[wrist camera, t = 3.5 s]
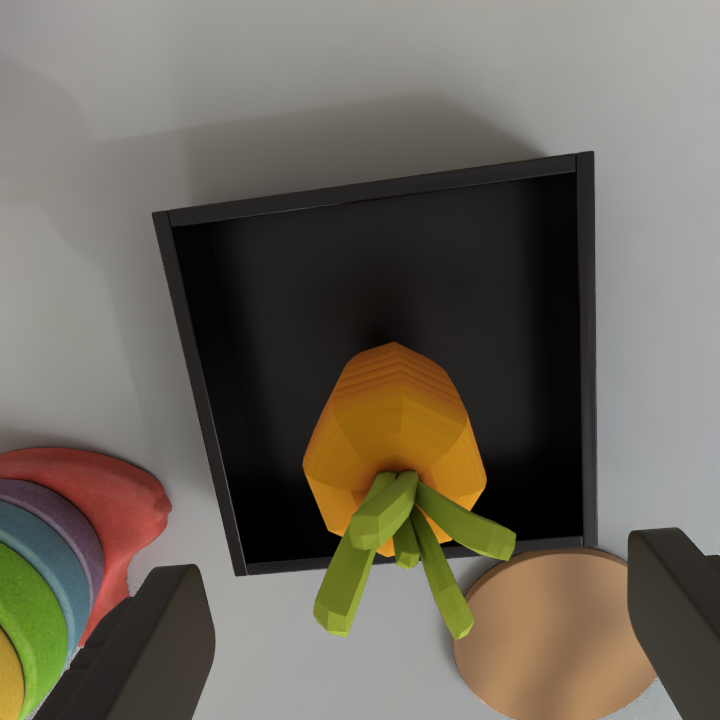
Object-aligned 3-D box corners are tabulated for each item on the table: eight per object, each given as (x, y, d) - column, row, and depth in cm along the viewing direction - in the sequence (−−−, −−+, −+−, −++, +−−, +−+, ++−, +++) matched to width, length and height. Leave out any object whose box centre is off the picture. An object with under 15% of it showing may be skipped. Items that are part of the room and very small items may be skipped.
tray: (257, 521, 27) (234, 577, 23) (191, 210, 23) (150, 212, 19) (564, 493, 26) (598, 546, 22) (555, 160, 22) (595, 150, 17)
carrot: (451, 311, 23) (561, 488, 9) (439, 417, 25) (517, 717, 10) (337, 303, 23) (264, 465, 9) (332, 409, 25) (261, 694, 10)
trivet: (460, 721, 30) (461, 732, 29) (443, 555, 27) (444, 562, 26) (662, 709, 29) (668, 720, 29) (668, 536, 26) (674, 543, 26)
